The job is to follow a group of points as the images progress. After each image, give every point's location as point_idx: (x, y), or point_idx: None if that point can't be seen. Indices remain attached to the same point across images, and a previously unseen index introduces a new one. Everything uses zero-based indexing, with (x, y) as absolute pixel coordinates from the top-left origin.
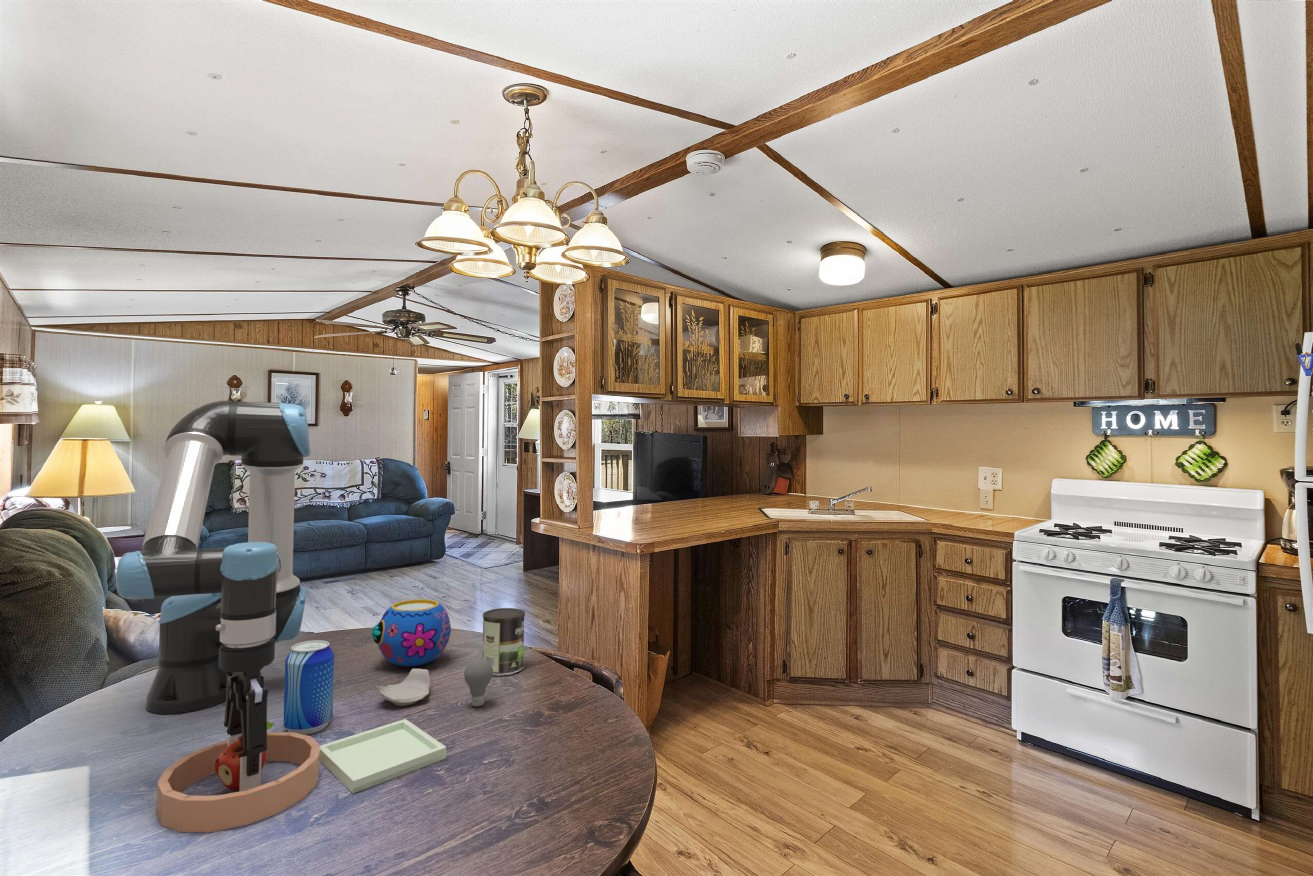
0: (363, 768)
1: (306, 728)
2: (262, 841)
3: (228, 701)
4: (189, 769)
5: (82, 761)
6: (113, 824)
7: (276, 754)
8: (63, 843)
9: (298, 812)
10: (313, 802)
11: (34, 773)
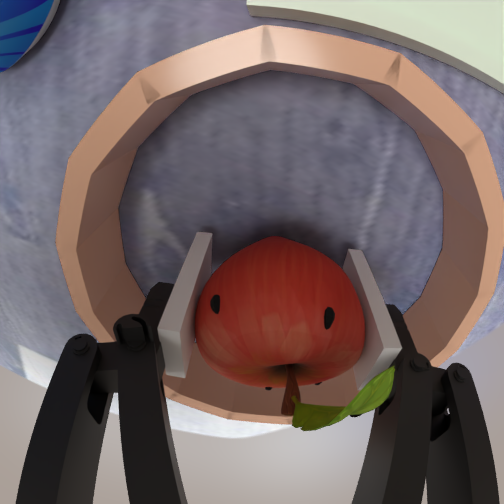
0: (478, 14)
1: (47, 11)
2: None
3: (93, 487)
4: None
5: (7, 342)
6: None
7: (153, 126)
8: (228, 421)
9: None
10: None
11: (25, 370)
